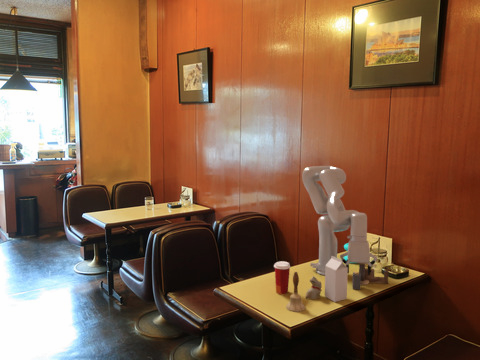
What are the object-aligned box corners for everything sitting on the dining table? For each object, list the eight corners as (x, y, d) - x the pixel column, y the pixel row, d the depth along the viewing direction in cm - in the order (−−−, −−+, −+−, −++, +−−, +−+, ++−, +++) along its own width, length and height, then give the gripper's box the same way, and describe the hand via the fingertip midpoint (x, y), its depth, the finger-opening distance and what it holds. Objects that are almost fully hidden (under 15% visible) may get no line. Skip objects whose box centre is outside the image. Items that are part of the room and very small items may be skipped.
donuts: (360, 242, 231) (362, 247, 221) (359, 258, 232) (362, 264, 222) (343, 242, 232) (344, 246, 223) (342, 258, 234) (344, 263, 224)
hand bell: (283, 309, 167) (283, 273, 165) (290, 301, 174) (291, 267, 172) (300, 313, 163) (301, 277, 161) (308, 306, 170) (309, 271, 168)
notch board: (359, 281, 197) (359, 270, 196) (358, 278, 202) (359, 266, 201) (388, 284, 194) (389, 272, 193) (387, 280, 199) (387, 269, 198)
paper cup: (291, 289, 187) (291, 262, 185) (288, 296, 180) (288, 267, 178) (275, 287, 190) (276, 260, 188) (271, 294, 183) (272, 265, 181)
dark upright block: (352, 289, 188) (353, 273, 187) (352, 286, 192) (352, 270, 191) (360, 289, 187) (360, 274, 186) (359, 286, 191) (360, 271, 190)
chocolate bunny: (323, 299, 177) (323, 278, 175) (305, 299, 177) (306, 278, 176) (320, 294, 182) (321, 273, 181) (304, 294, 182) (304, 273, 181)
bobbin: (354, 284, 194) (355, 263, 193) (353, 279, 201) (354, 258, 199) (369, 285, 192) (370, 264, 191) (368, 280, 199) (368, 259, 198)
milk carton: (334, 302, 173) (336, 261, 171) (324, 296, 180) (325, 257, 177) (346, 299, 177) (348, 259, 174) (336, 293, 183) (337, 254, 181)
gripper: (340, 239, 184) (340, 274, 186) (378, 241, 180) (378, 276, 182) (339, 236, 192) (339, 269, 193) (376, 237, 188) (376, 271, 189)
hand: (358, 273), depth 188 cm, fingers open, 9 cm apart
